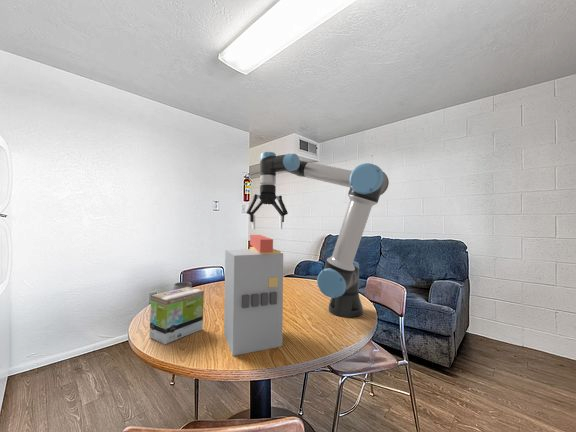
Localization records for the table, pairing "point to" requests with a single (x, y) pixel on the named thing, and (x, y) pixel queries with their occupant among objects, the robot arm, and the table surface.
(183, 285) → the cup
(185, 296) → the tea box
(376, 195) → the robot arm
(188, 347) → the table surface
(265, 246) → the bar
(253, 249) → the ochre pad
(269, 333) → the breaker panel
